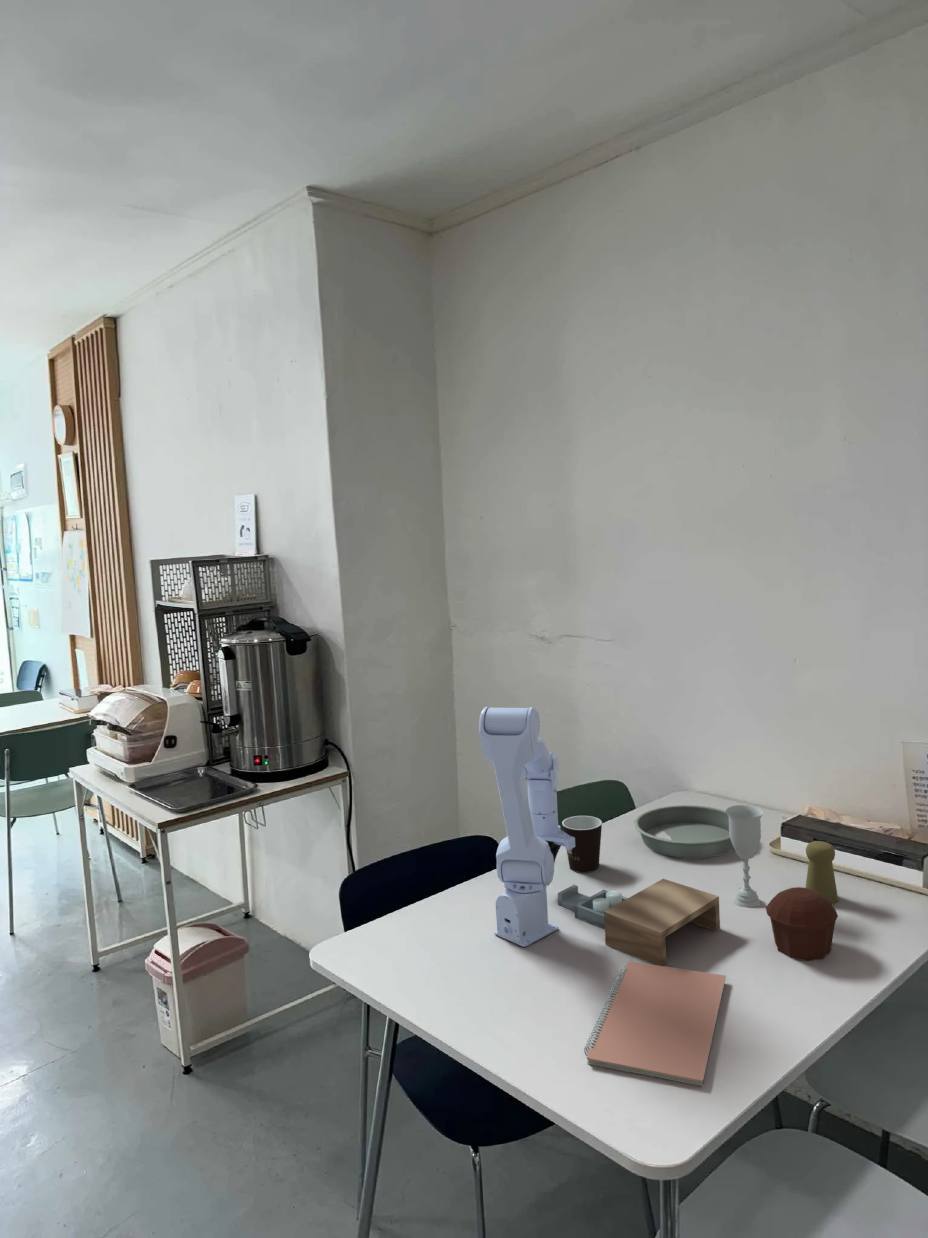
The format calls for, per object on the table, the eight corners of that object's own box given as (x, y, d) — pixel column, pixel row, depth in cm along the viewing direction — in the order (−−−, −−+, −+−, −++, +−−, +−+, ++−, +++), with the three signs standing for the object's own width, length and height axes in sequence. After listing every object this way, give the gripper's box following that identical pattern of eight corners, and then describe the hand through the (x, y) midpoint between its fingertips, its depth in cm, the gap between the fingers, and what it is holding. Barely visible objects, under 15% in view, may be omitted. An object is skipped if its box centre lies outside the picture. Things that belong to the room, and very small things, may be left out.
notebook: (622, 970, 144) (622, 958, 143) (726, 985, 137) (725, 974, 137) (579, 1067, 119) (578, 1054, 119) (703, 1093, 112) (702, 1078, 112)
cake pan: (683, 815, 214) (683, 797, 213) (767, 841, 194) (766, 822, 193) (613, 840, 200) (612, 822, 200) (695, 871, 180) (694, 851, 179)
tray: (612, 932, 156) (611, 913, 155) (551, 908, 167) (550, 890, 166) (641, 914, 162) (640, 896, 161) (581, 892, 173) (580, 875, 172)
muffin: (802, 926, 153) (800, 873, 152) (853, 952, 143) (852, 896, 142) (752, 943, 148) (750, 889, 147) (802, 972, 138) (800, 913, 137)
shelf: (662, 968, 142) (660, 932, 142) (605, 944, 151) (604, 911, 151) (719, 928, 154) (718, 896, 154) (664, 909, 163) (663, 878, 162)
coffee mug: (606, 873, 181) (604, 828, 180) (566, 875, 181) (564, 831, 180) (599, 852, 193) (597, 810, 192) (561, 854, 193) (559, 812, 192)
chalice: (768, 910, 160) (765, 818, 158) (730, 909, 161) (727, 818, 159) (762, 893, 167) (760, 805, 165) (726, 892, 169) (723, 805, 167)
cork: (832, 891, 166) (831, 837, 165) (842, 905, 160) (842, 849, 159) (800, 891, 167) (799, 838, 166) (809, 905, 161) (808, 850, 160)
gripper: (583, 812, 169) (587, 877, 170) (530, 797, 180) (534, 858, 181) (560, 822, 164) (564, 889, 166) (507, 806, 175) (511, 869, 176)
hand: (547, 874), depth 173 cm, fingers closed
